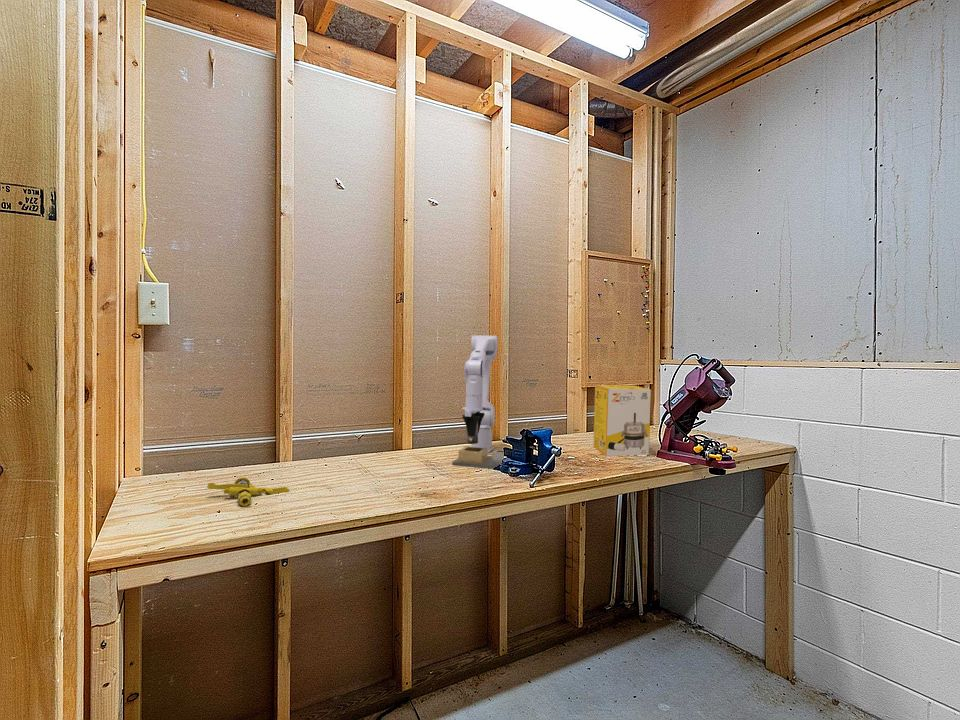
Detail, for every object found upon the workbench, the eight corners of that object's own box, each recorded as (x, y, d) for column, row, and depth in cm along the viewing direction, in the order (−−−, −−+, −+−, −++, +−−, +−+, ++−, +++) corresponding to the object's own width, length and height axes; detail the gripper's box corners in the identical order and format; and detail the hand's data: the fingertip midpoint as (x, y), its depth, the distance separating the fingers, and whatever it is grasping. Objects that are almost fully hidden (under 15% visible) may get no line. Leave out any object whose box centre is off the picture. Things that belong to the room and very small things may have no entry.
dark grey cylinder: (468, 441, 173) (468, 418, 173) (479, 441, 172) (479, 418, 172) (464, 443, 169) (464, 420, 169) (476, 444, 168) (475, 420, 168)
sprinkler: (208, 493, 117) (208, 475, 130) (205, 510, 117) (206, 490, 130) (294, 493, 126) (286, 477, 140) (292, 509, 126) (284, 491, 140)
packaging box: (632, 447, 202) (634, 385, 201) (648, 456, 186) (651, 389, 185) (593, 446, 201) (595, 384, 200) (606, 456, 185) (608, 388, 184)
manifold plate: (462, 457, 178) (463, 444, 178) (512, 461, 173) (512, 448, 173) (452, 465, 166) (452, 451, 166) (505, 469, 162) (505, 456, 162)
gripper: (469, 392, 178) (468, 430, 179) (456, 396, 164) (455, 437, 165) (488, 393, 176) (487, 432, 177) (477, 397, 162) (476, 439, 163)
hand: (473, 434), depth 171 cm, fingers closed on dark grey cylinder, 4 cm apart
